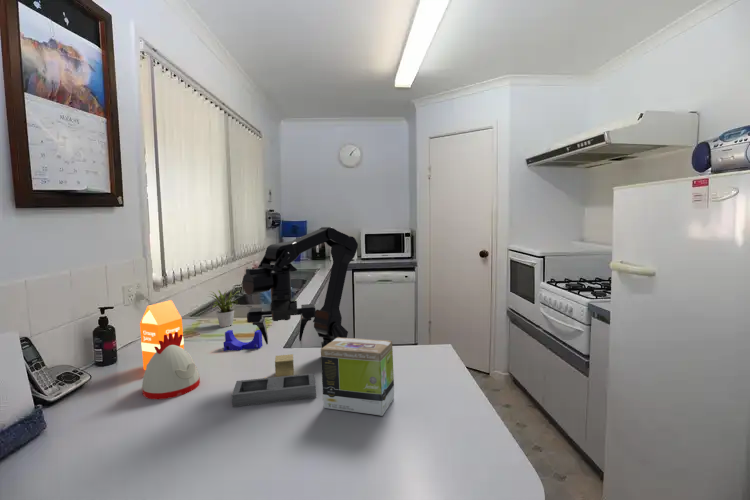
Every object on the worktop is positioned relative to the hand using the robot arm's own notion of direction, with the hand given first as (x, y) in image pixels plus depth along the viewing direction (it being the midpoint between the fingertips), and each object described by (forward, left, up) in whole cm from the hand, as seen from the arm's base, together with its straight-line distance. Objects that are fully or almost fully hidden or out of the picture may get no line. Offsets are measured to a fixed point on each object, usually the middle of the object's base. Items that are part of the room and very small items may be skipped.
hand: (283, 342), depth 116 cm
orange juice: (+37, -17, -10) cm, 42 cm away
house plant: (+27, -61, -10) cm, 67 cm away
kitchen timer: (+30, +1, -10) cm, 32 cm away
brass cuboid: (0, 0, -10) cm, 10 cm away
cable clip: (+15, -28, -10) cm, 33 cm away
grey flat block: (+2, +13, -9) cm, 16 cm away
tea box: (-18, +23, -10) cm, 31 cm away
